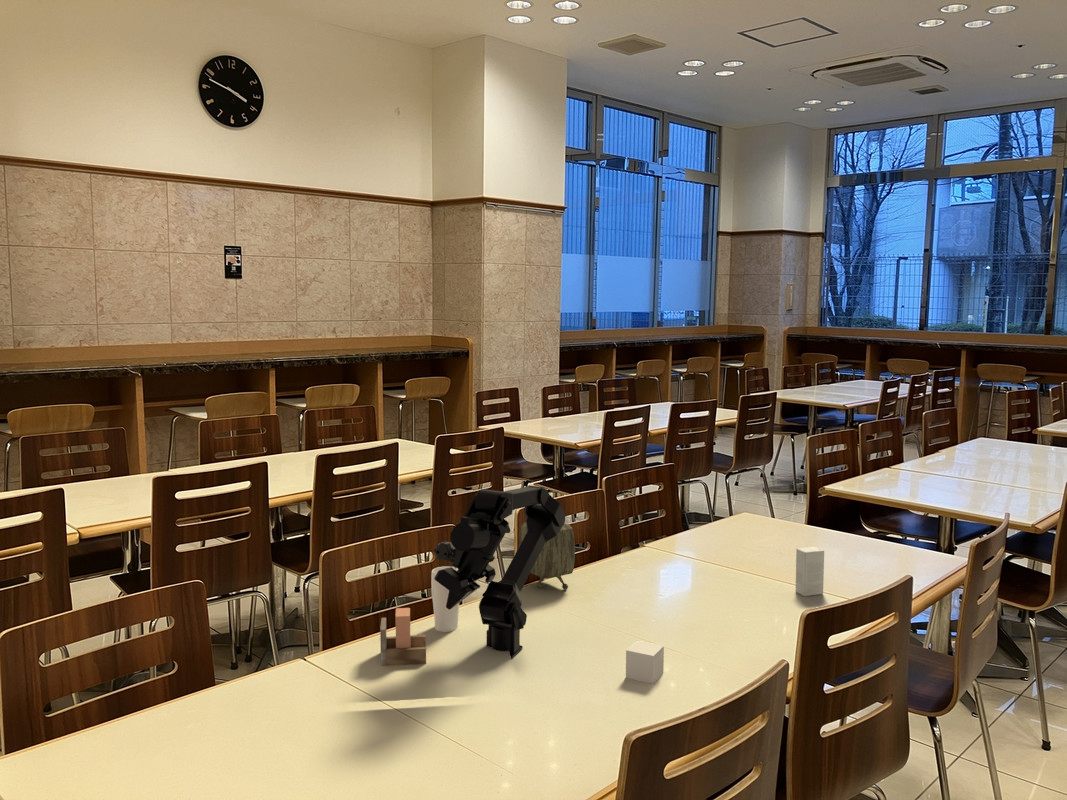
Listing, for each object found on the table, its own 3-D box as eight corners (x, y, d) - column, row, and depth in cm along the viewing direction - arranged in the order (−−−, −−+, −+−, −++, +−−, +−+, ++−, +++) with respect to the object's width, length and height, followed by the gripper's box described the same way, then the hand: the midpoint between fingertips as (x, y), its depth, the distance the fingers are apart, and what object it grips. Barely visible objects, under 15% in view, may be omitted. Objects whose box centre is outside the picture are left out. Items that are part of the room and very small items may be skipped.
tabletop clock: (574, 590, 235) (575, 499, 232) (547, 596, 230) (547, 503, 227) (543, 576, 247) (544, 489, 244) (516, 582, 242) (516, 493, 239)
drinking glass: (456, 639, 201) (455, 575, 199) (428, 637, 202) (427, 573, 201) (464, 628, 208) (464, 567, 206) (437, 626, 209) (436, 565, 207)
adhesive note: (653, 684, 178) (653, 656, 177) (625, 678, 181) (626, 650, 180) (663, 673, 183) (663, 645, 183) (636, 667, 186) (637, 640, 185)
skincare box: (813, 589, 237) (815, 546, 235) (823, 594, 233) (825, 550, 231) (794, 591, 235) (795, 548, 233) (803, 596, 231) (805, 552, 229)
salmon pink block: (410, 652, 190) (409, 607, 189) (410, 661, 185) (409, 615, 184) (396, 652, 190) (395, 608, 189) (396, 662, 185) (395, 616, 184)
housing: (430, 654, 192) (429, 614, 191) (431, 669, 185) (430, 628, 184) (382, 656, 191) (381, 616, 190) (380, 672, 183) (380, 630, 182)
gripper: (471, 522, 197) (439, 580, 200) (432, 531, 180) (398, 594, 182) (510, 549, 194) (477, 608, 196) (475, 561, 176) (439, 625, 179)
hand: (448, 608), depth 188 cm, fingers closed
